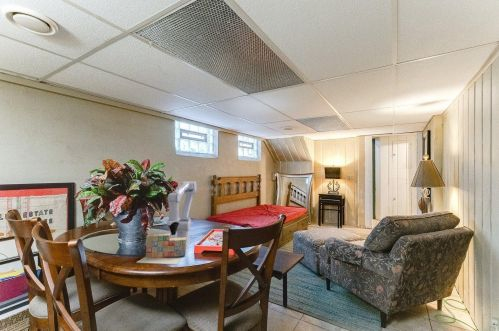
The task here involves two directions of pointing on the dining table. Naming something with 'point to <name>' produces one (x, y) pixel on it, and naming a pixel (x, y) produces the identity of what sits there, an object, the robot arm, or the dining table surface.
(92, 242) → the dining table surface
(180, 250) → the stack of blocks
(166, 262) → the mat
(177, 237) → the robot arm
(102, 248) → the dining table surface
